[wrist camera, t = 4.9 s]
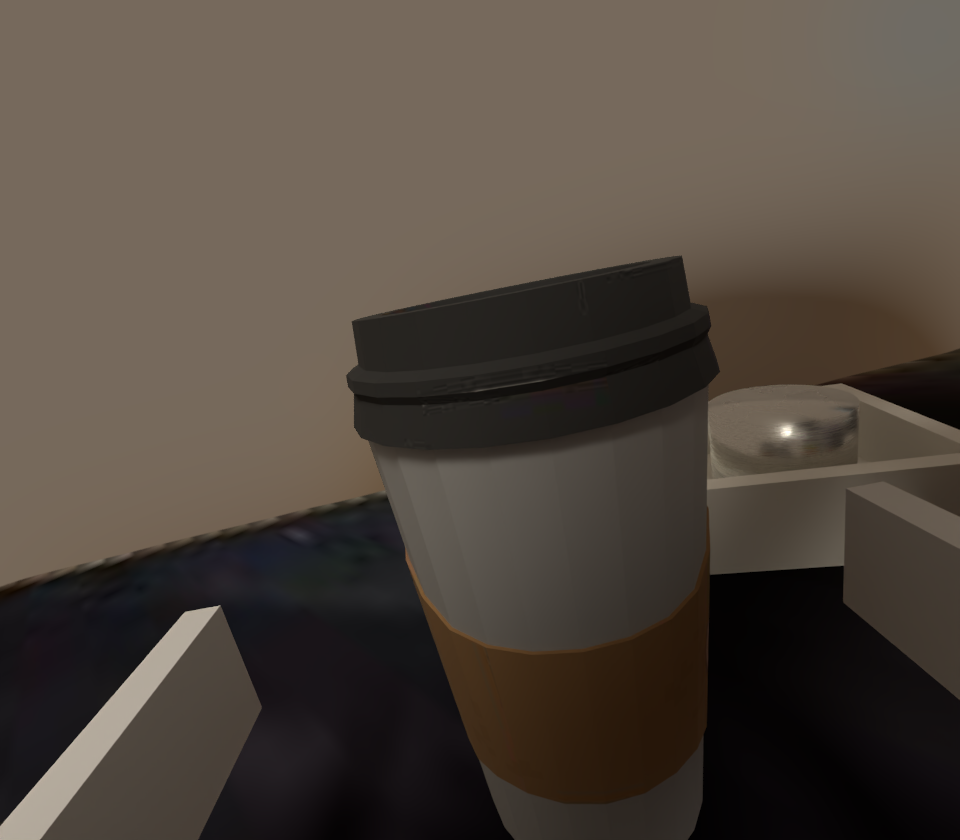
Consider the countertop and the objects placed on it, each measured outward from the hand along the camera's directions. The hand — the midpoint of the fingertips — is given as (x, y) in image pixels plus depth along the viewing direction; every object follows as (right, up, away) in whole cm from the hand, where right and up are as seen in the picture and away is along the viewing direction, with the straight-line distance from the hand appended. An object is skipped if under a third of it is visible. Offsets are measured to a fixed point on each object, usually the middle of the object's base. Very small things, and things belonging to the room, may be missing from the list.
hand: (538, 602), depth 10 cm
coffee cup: (+2, -7, +5) cm, 9 cm away
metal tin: (+16, 0, +17) cm, 24 cm away
